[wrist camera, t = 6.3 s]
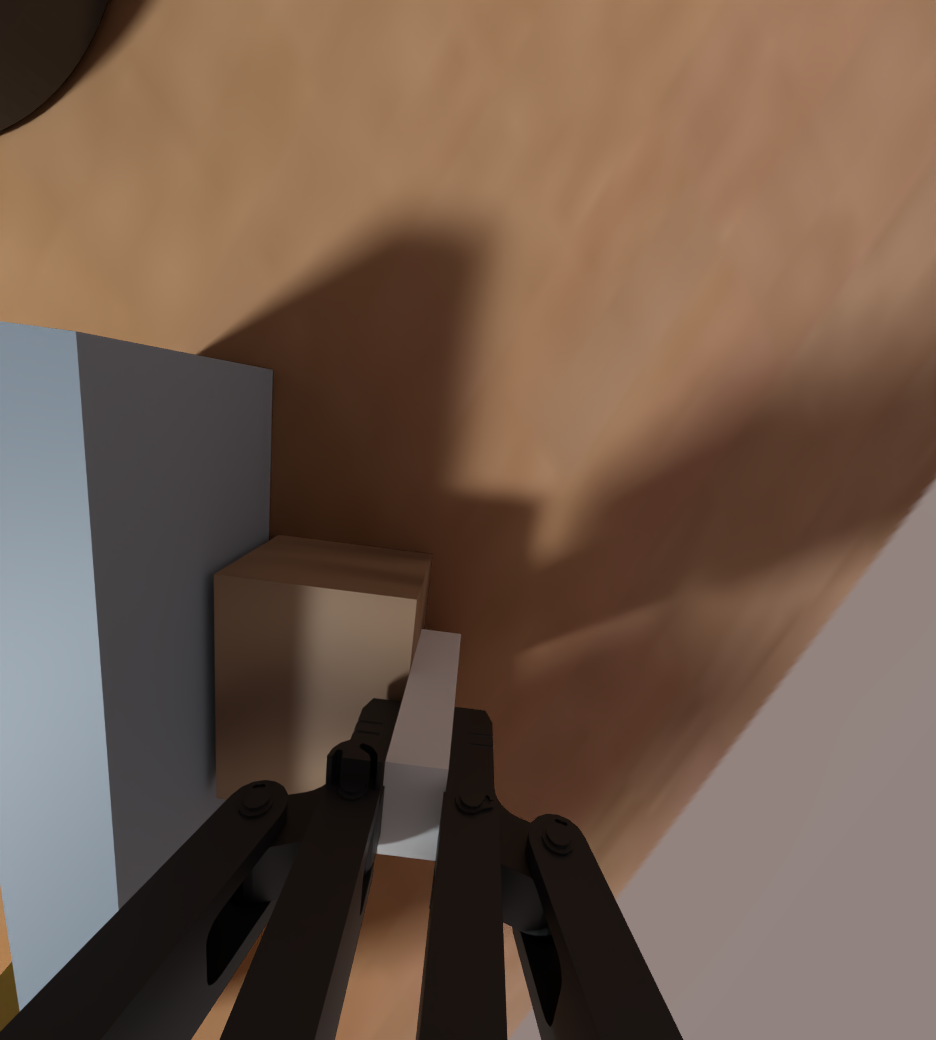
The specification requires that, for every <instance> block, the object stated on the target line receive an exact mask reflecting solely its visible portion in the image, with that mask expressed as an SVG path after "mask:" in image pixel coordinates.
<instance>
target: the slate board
mask: <svg viewBox="0 0 936 1040" xmlns="http://www.w3.org/2000/svg"><path fill="white" fill-rule="evenodd" d="M272 386H273V370H271V369H266V368H261V367H256V366H250V365H245V364H240V363H235V362H230V361H225V360H220V359H215V358H209V357H204V356H199V355H194V354H189V353H184V352H179V351H174V350H168V349H163V348H158V347H153V346H148V345H143V344H138V343H132V342H127V341H122V340H117V339H112V338H107V337H102V336H97V335H91V334H86V333H81V332H76V331H69V330H61V329H53V328H46V327H38V326H31V325H23V324H15V323H8V322H0V886H1V892H2V899H3V905H4V912H5V918H6V925H7V931H8V938H9V945H10V951H11V958H12V964H13V971H14V977H15V984H16V990H17V997H18V1004H19V1010H20V1011H21V1010H22V1009H23V1008H24V1007H25V1006H26V1005H27V1004H28V1003H29V1002H30V1001H31V1000H32V998H33V997H34V996H35V995H36V994H37V993H38V992H39V991H40V990H41V989H42V988H43V987H44V986H45V985H46V984H47V983H48V982H49V981H50V980H51V979H52V978H53V977H54V976H55V975H56V974H57V973H58V972H59V971H60V970H61V969H62V968H63V967H64V966H65V965H66V964H67V963H68V962H69V961H70V960H71V959H72V958H73V957H74V955H75V954H76V953H77V952H78V951H79V950H80V949H81V948H82V947H83V946H84V945H85V944H86V943H87V942H88V941H89V940H90V939H91V938H92V937H93V936H94V935H95V934H96V933H97V932H98V931H99V930H100V929H101V928H102V927H103V926H104V925H105V924H106V923H107V922H108V921H109V920H110V919H111V918H112V917H113V916H114V915H115V914H116V912H117V911H118V910H119V909H120V908H121V907H122V906H123V905H124V904H125V903H126V902H127V901H128V900H129V899H130V898H131V897H132V896H133V895H134V894H135V893H136V892H137V891H138V890H139V889H140V888H141V887H142V886H143V885H144V884H145V883H146V882H147V881H148V880H149V879H150V878H151V877H152V876H153V875H154V874H155V873H156V872H157V871H158V869H159V868H160V867H161V866H162V865H163V864H164V863H165V862H166V861H167V860H168V859H169V858H170V857H171V856H172V855H173V854H174V853H175V852H176V851H177V850H178V849H179V848H180V847H181V846H182V845H183V844H184V843H185V842H186V841H187V840H188V839H189V838H190V837H191V836H192V835H193V834H194V833H195V832H196V831H197V830H198V829H199V828H200V826H201V825H202V824H203V823H204V822H205V821H206V820H207V819H208V818H209V817H210V816H211V815H212V814H213V813H214V812H215V811H216V810H217V809H218V808H219V807H220V806H221V805H222V804H223V803H224V802H225V801H226V800H227V799H219V798H216V722H215V641H214V574H215V573H217V572H218V571H220V570H222V569H223V568H225V567H227V566H228V565H230V564H231V563H233V562H235V561H236V560H238V559H240V558H241V557H243V556H245V555H246V554H248V553H250V552H251V551H253V550H254V549H256V548H258V547H259V546H261V545H263V544H264V543H266V542H268V541H269V513H270V471H271V428H272Z"/></svg>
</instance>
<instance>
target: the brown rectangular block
mask: <svg viewBox="0 0 936 1040" xmlns="http://www.w3.org/2000/svg"><path fill="white" fill-rule="evenodd" d="M431 563H432V554H428V553H420V552H412V551H404V550H396V549H388V548H380V547H372V546H364V545H356V544H348V543H340V542H332V541H324V540H316V539H308V538H300V537H292V536H284V535H277V536H276V537H274V538H273V539H271V540H269V541H268V542H266V543H264V544H263V545H261V546H259V547H258V548H256V549H254V550H253V551H251V552H250V553H248V554H246V555H245V556H243V557H241V558H240V559H238V560H236V561H235V562H233V563H231V564H230V565H228V566H227V567H225V568H223V569H222V570H220V571H218V572H217V573H215V574H214V641H215V722H216V798H219V799H228V798H229V797H230V796H231V795H232V794H233V793H234V792H236V791H237V790H238V789H239V788H241V787H242V786H244V785H247V784H249V783H252V782H254V781H261V780H270V781H276V782H278V783H279V784H281V785H282V786H284V787H285V789H286V791H287V793H288V795H290V794H296V793H303V792H308V791H312V790H315V789H317V788H319V787H322V786H323V785H325V784H326V765H327V755H328V754H329V752H330V751H331V749H332V748H333V747H335V746H336V745H338V744H339V743H341V742H344V741H347V740H350V739H351V736H352V734H353V732H354V729H355V726H356V724H357V722H358V719H359V716H360V714H361V711H362V709H363V707H364V706H365V705H366V704H368V703H369V702H370V701H371V700H372V699H373V698H378V699H386V700H394V701H402V699H403V695H404V692H405V688H406V685H407V681H408V677H409V674H410V670H411V667H412V663H413V659H414V656H415V652H416V648H417V645H418V641H419V637H420V634H421V630H422V629H424V628H425V619H426V610H427V600H428V591H429V582H430V572H431Z"/></svg>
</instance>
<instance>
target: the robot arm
mask: <svg viewBox="0 0 936 1040" xmlns="http://www.w3.org/2000/svg"><path fill="white" fill-rule="evenodd" d="M107 1H108V0H0V131H1V130H3V129H5V128H7V127H9V126H11V125H13V124H15V123H17V122H18V121H20V120H21V119H23V118H24V117H26V116H27V115H29V114H30V113H32V112H33V111H34V110H35V109H37V108H38V107H39V106H40V105H42V104H43V103H44V102H45V101H46V100H47V99H48V98H49V97H50V96H51V95H52V94H53V93H54V92H55V91H56V90H57V89H58V88H59V87H60V86H61V85H62V83H63V82H64V81H65V80H66V79H67V78H68V76H69V75H70V74H71V72H72V71H73V69H74V68H75V67H76V65H77V64H78V62H79V61H80V59H81V58H82V56H83V54H84V53H85V51H86V49H87V47H88V46H89V44H90V42H91V40H92V38H93V36H94V34H95V32H96V30H97V28H98V25H99V23H100V20H101V18H102V15H103V13H104V10H105V7H106V4H107ZM460 642H461V634H458V633H449V632H441V631H433V630H425V629H422V630H421V634H420V637H419V641H418V645H417V648H416V652H415V656H414V659H413V663H412V667H411V670H410V674H409V677H408V681H407V685H406V688H405V692H404V695H403V699H402V701H394V700H386V699H378V698H373V699H372V700H371V701H370V702H369V703H368V704H366V705H365V706H364V707H363V709H362V711H361V714H360V716H359V719H358V722H357V724H356V726H355V729H354V732H353V734H352V736H351V739H350V740H347V741H344V742H341V743H339V744H338V745H336V746H335V747H333V748H332V749H331V751H330V752H329V754H328V755H327V765H326V784H325V785H323V786H322V787H319V788H317V789H315V790H312V791H308V792H303V793H296V794H290V795H288V793H287V791H286V789H285V787H284V786H282V785H281V784H279V783H278V782H276V781H270V780H261V781H254V782H252V783H249V784H247V785H244V786H242V787H241V788H239V789H238V790H237V791H236V792H234V793H233V794H232V795H231V796H230V797H229V798H228V799H227V800H226V801H225V802H224V803H223V804H222V805H221V806H220V807H219V808H218V809H217V810H216V811H215V812H214V813H213V814H212V815H211V816H210V817H209V818H208V819H207V820H206V821H205V822H204V823H203V824H202V825H201V826H200V828H199V829H198V830H197V831H196V832H195V833H194V834H193V835H192V836H191V837H190V838H189V839H188V840H187V841H186V842H185V843H184V844H183V845H182V846H181V847H180V848H179V849H178V850H177V851H176V852H175V853H174V854H173V855H172V856H171V857H170V858H169V859H168V860H167V861H166V862H165V863H164V864H163V865H162V866H161V867H160V868H159V869H158V871H157V872H156V873H155V874H154V875H153V876H152V877H151V878H150V879H149V880H148V881H147V882H146V883H145V884H144V885H143V886H142V887H141V888H140V889H139V890H138V891H137V892H136V893H135V894H134V895H133V896H132V897H131V898H130V899H129V900H128V901H127V902H126V903H125V904H124V905H123V906H122V907H121V908H120V909H119V910H118V911H117V912H116V914H115V915H114V916H113V917H112V918H111V919H110V920H109V921H108V922H107V923H106V924H105V925H104V926H103V927H102V928H101V929H100V930H99V931H98V932H97V933H96V934H95V935H94V936H93V937H92V938H91V939H90V940H89V941H88V942H87V943H86V944H85V945H84V946H83V947H82V948H81V949H80V950H79V951H78V952H77V953H76V954H75V955H74V957H73V958H72V959H71V960H70V961H69V962H68V963H67V964H66V965H65V966H64V967H63V968H62V969H61V970H60V971H59V972H58V973H57V974H56V975H55V976H54V977H53V978H52V979H51V980H50V981H49V982H48V983H47V984H46V985H45V986H44V987H43V988H42V989H41V990H40V991H39V992H38V993H37V994H36V995H35V996H34V997H33V998H32V1000H31V1001H30V1002H29V1003H28V1004H27V1005H26V1006H25V1007H24V1008H23V1009H22V1010H21V1011H20V1012H19V1013H18V1014H17V1015H16V1016H15V1017H14V1018H13V1019H12V1020H11V1021H10V1022H9V1023H8V1024H7V1025H6V1026H5V1027H4V1028H3V1029H2V1030H1V1031H0V1040H191V1039H192V1037H193V1036H194V1034H195V1033H196V1031H197V1030H198V1028H199V1027H200V1025H201V1024H202V1022H203V1021H204V1019H205V1018H206V1016H207V1014H208V1013H209V1011H210V1010H211V1008H212V1007H213V1005H214V1004H215V1002H216V1001H217V999H218V998H219V996H220V995H221V993H222V992H223V990H224V989H225V987H226V985H227V984H228V982H229V981H230V979H231V978H232V976H233V975H234V973H235V972H236V970H237V969H238V967H239V966H240V964H241V963H242V961H243V959H244V958H245V956H246V955H247V953H248V952H249V950H250V949H251V947H252V946H253V944H254V943H255V941H256V940H257V938H258V937H259V935H260V933H261V932H262V930H263V929H264V927H265V926H266V924H267V923H268V924H267V927H266V929H265V931H264V934H263V936H262V939H261V941H260V943H259V946H258V948H257V951H256V953H255V956H254V958H253V960H252V963H251V965H250V968H249V970H248V972H247V975H246V977H245V980H244V982H243V984H242V987H241V989H240V992H239V994H238V996H237V999H236V1001H235V1004H234V1006H233V1009H232V1011H231V1013H230V1016H229V1018H228V1021H227V1023H226V1025H225V1028H224V1030H223V1033H222V1035H221V1037H220V1040H335V1037H336V1032H337V1028H338V1024H339V1019H340V1015H341V1011H342V1006H343V1002H344V998H345V994H346V989H347V985H348V981H349V976H350V972H351V968H352V963H353V959H354V955H355V950H356V946H357V942H358V938H359V933H360V929H361V925H362V920H363V916H364V912H365V907H366V903H367V899H368V894H369V890H370V886H371V882H372V877H373V867H374V859H375V854H376V850H377V854H383V855H391V856H399V857H407V858H415V859H423V860H431V861H435V868H434V876H433V884H432V891H431V899H430V906H429V909H430V911H429V921H428V930H427V939H426V949H425V958H424V967H423V977H422V986H421V995H420V1005H419V1014H418V1023H417V1033H416V1040H507V1018H506V992H505V966H504V939H503V922H504V923H506V924H508V925H510V926H512V929H513V935H514V938H515V942H516V946H517V950H518V954H519V957H520V961H521V965H522V969H523V972H524V976H525V980H526V984H527V987H528V991H529V995H530V999H531V1003H532V1006H533V1010H534V1014H535V1017H536V1021H537V1025H538V1029H539V1033H540V1036H541V1040H683V1038H682V1036H681V1034H680V1032H679V1030H678V1028H677V1026H676V1024H675V1022H674V1020H673V1018H672V1016H671V1013H670V1011H669V1009H668V1007H667V1005H666V1003H665V1001H664V999H663V997H662V995H661V993H660V991H659V989H658V987H657V985H656V983H655V981H654V978H653V977H652V974H651V972H650V970H649V968H648V966H647V964H646V962H645V960H644V958H643V956H642V954H641V952H640V950H639V948H638V946H637V944H636V942H635V939H634V937H633V935H632V933H631V931H630V929H629V927H628V925H627V923H626V921H625V919H624V917H623V915H622V913H621V911H620V908H619V906H618V904H617V902H616V900H615V898H614V896H613V894H612V892H611V890H610V888H609V886H608V884H607V882H606V880H605V878H604V876H603V873H602V871H601V869H600V867H599V865H598V863H597V861H596V859H595V857H594V855H593V853H592V851H591V849H590V847H589V845H588V843H587V841H586V838H585V837H584V835H583V834H582V832H581V831H580V829H579V828H578V827H577V826H576V825H575V824H573V823H572V822H571V821H570V820H568V819H566V818H564V817H561V816H559V815H553V814H545V815H542V816H538V817H537V818H536V819H535V820H534V821H533V822H532V823H530V822H527V821H525V820H523V819H521V818H518V817H516V816H515V815H513V814H511V813H510V812H508V811H507V810H506V809H505V808H504V807H503V806H502V805H501V803H500V802H499V801H498V799H497V796H496V794H495V789H494V763H493V738H492V736H493V732H492V722H491V720H490V718H489V716H488V715H487V713H486V711H483V710H475V709H467V708H459V707H454V706H455V695H456V685H457V674H458V663H459V652H460ZM377 846H378V847H377ZM268 921H269V922H268Z"/></svg>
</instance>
